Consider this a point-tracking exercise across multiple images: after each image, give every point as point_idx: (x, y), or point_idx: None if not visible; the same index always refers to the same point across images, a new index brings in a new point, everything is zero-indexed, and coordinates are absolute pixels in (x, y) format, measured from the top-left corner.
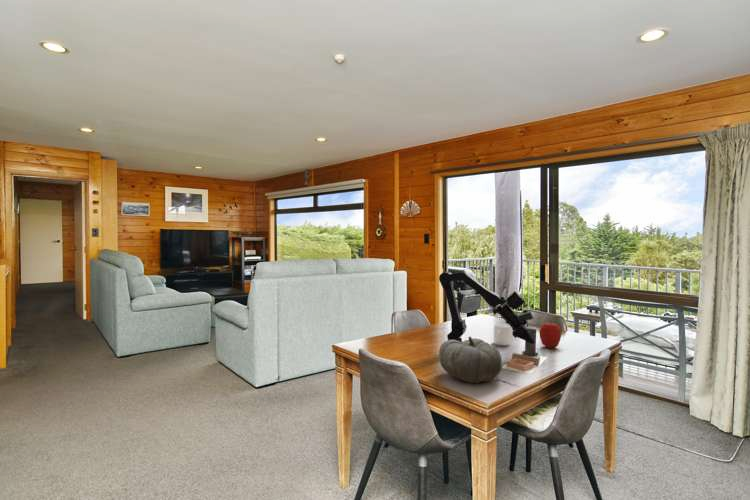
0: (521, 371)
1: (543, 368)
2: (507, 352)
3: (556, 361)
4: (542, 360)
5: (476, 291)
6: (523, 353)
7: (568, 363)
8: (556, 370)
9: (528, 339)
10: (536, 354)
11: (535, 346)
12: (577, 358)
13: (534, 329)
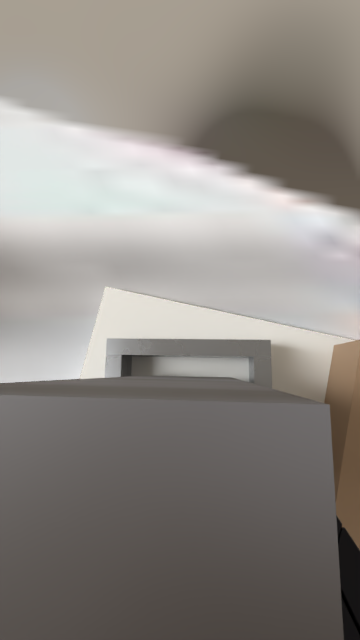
0: None
1: (357, 313)
2: None
3: (131, 233)
4: (208, 321)
5: None
6: None
7: (145, 163)
8: (356, 228)
9: None
10: (125, 368)
11: (241, 380)
12: (7, 119)
13: (331, 483)
